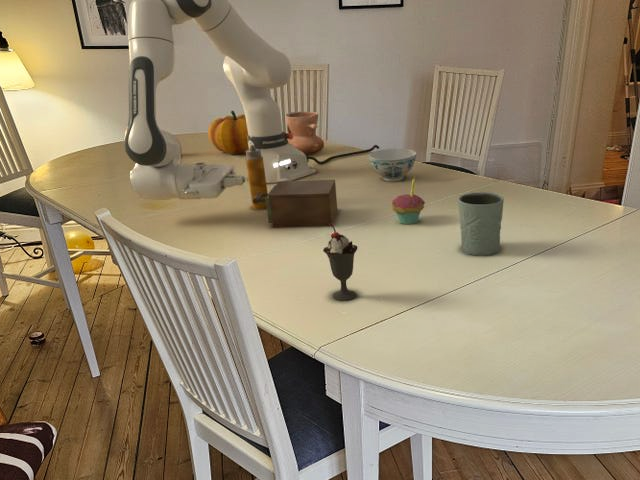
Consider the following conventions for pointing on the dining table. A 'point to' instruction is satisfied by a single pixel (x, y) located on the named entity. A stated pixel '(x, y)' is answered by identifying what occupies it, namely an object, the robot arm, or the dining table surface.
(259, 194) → the drawer
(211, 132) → the decorative pumpkin
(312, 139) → the ceramic jug
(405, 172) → the chinaware
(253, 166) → the pepper mill
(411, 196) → the cupcake
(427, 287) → the dining table surface
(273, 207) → the cabinet
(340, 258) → the sundae
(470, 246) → the green embossed cup
